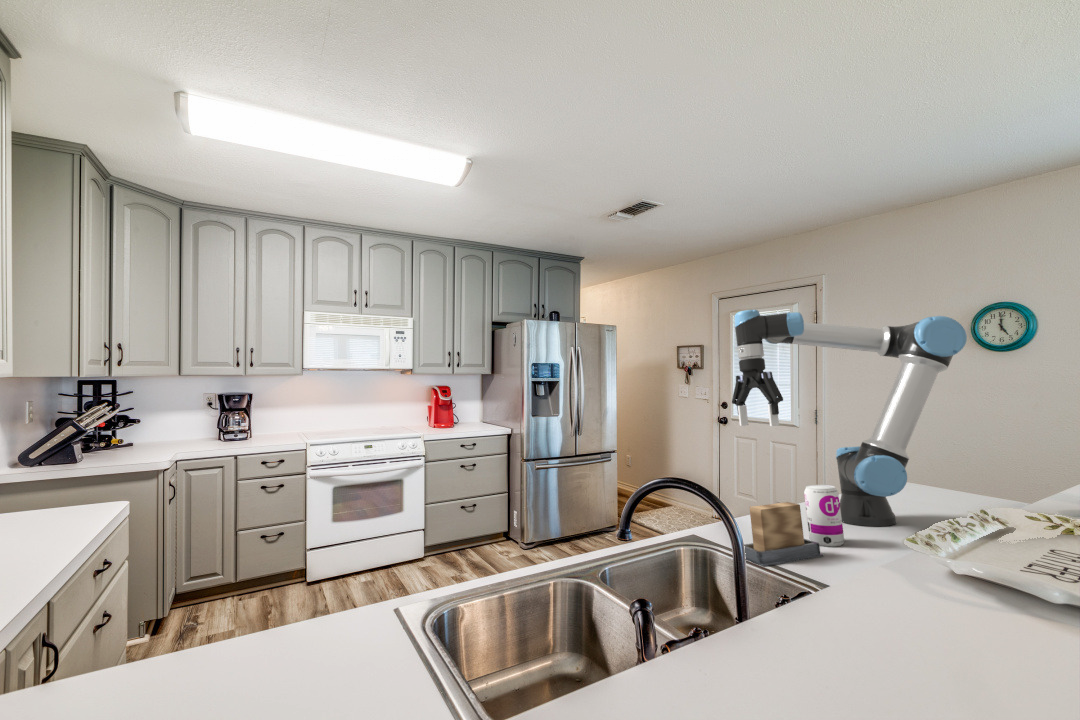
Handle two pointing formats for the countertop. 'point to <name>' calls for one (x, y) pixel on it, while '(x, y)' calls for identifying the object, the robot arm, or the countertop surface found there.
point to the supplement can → (824, 515)
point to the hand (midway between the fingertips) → (758, 425)
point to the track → (783, 553)
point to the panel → (776, 526)
